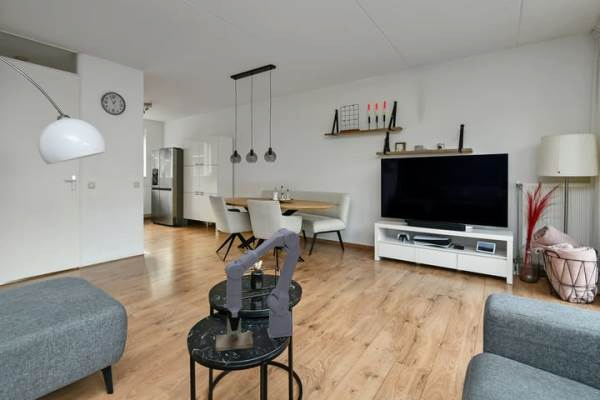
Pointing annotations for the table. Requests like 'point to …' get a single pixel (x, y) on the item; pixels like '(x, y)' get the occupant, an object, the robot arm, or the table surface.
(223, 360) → the table surface
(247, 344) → the stub board
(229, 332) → the grey block
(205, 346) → the table surface
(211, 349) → the table surface
